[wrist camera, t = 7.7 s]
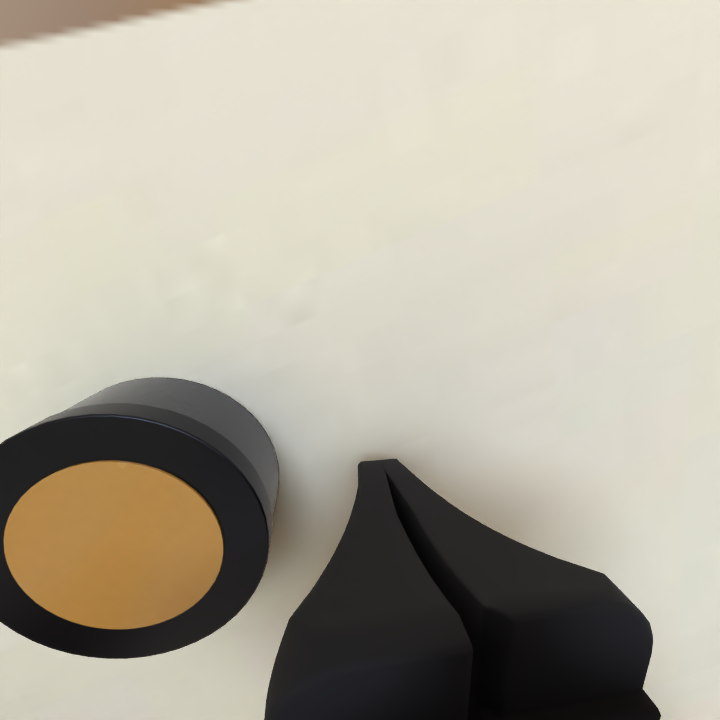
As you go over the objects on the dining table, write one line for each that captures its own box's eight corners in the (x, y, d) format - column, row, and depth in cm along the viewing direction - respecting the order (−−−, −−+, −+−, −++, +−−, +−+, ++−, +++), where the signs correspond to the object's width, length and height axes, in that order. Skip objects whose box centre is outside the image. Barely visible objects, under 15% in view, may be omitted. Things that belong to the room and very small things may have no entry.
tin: (287, 554, 13) (278, 640, 10) (76, 578, 12) (-5, 681, 9) (272, 369, 11) (256, 406, 8) (22, 381, 10) (-103, 427, 7)
